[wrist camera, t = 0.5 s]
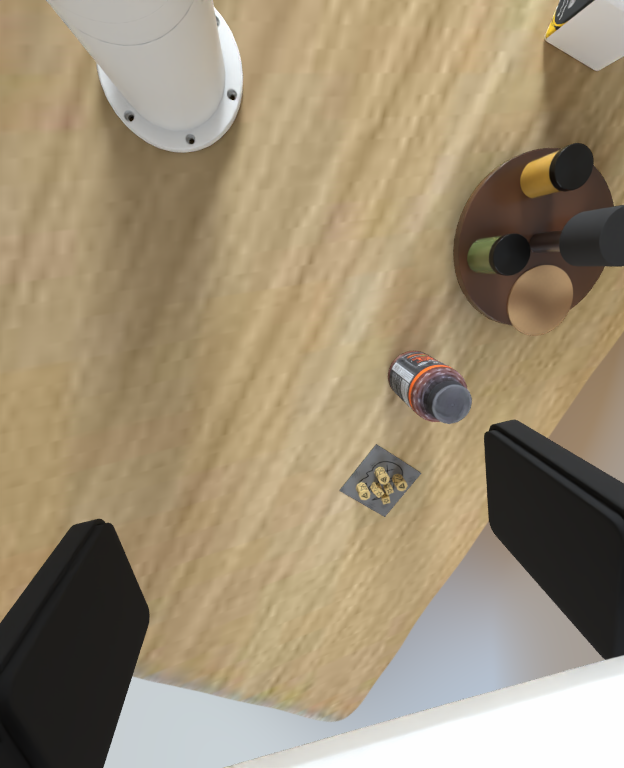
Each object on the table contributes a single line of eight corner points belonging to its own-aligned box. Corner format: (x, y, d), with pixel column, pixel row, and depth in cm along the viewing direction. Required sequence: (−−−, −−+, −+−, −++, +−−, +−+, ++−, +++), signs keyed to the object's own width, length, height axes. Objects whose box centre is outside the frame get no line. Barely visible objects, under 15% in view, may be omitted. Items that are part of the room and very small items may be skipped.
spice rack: (444, 171, 39) (518, 133, 28) (608, 134, 40) (742, 84, 29) (461, 350, 45) (527, 378, 34) (603, 315, 46) (712, 330, 35)
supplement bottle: (435, 349, 46) (488, 374, 36) (429, 395, 48) (478, 433, 37) (388, 349, 46) (427, 374, 35) (384, 396, 47) (420, 434, 37)
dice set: (353, 488, 51) (357, 497, 49) (377, 459, 50) (381, 466, 48) (382, 505, 52) (386, 514, 50) (405, 477, 51) (410, 485, 49)
